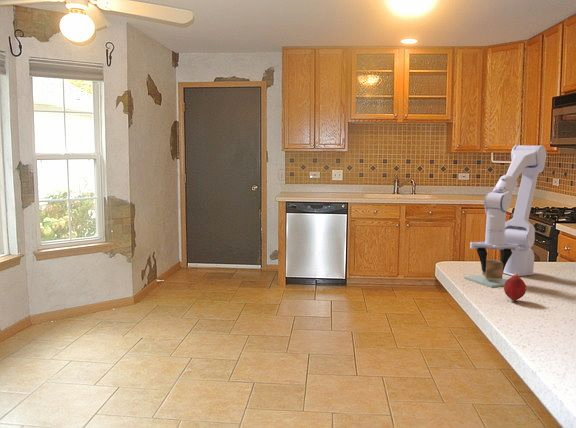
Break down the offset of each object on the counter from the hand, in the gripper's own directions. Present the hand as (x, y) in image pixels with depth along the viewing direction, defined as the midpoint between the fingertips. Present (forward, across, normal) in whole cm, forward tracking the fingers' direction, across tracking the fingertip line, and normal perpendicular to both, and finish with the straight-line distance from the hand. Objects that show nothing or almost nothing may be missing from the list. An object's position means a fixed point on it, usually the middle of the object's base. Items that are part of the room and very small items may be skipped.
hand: (492, 271), depth 174 cm
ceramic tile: (+3, 0, 0) cm, 3 cm away
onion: (+3, +1, -22) cm, 22 cm away
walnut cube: (+2, 0, 0) cm, 2 cm away
